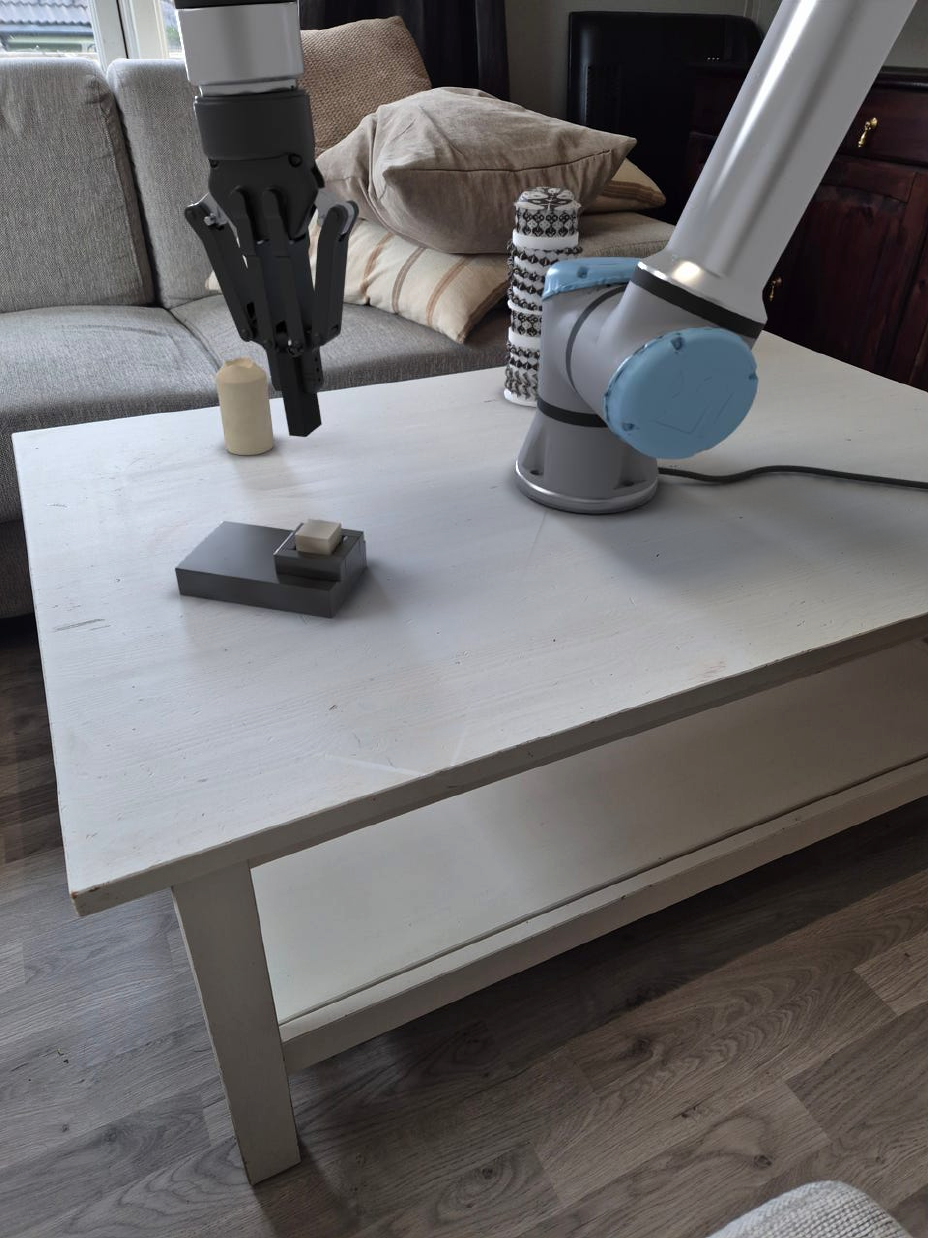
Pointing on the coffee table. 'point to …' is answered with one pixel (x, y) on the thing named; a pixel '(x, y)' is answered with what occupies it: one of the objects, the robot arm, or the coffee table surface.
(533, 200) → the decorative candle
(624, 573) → the coffee table surface
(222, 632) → the coffee table surface
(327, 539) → the key
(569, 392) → the robot arm
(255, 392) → the candle
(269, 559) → the grey stepped base
